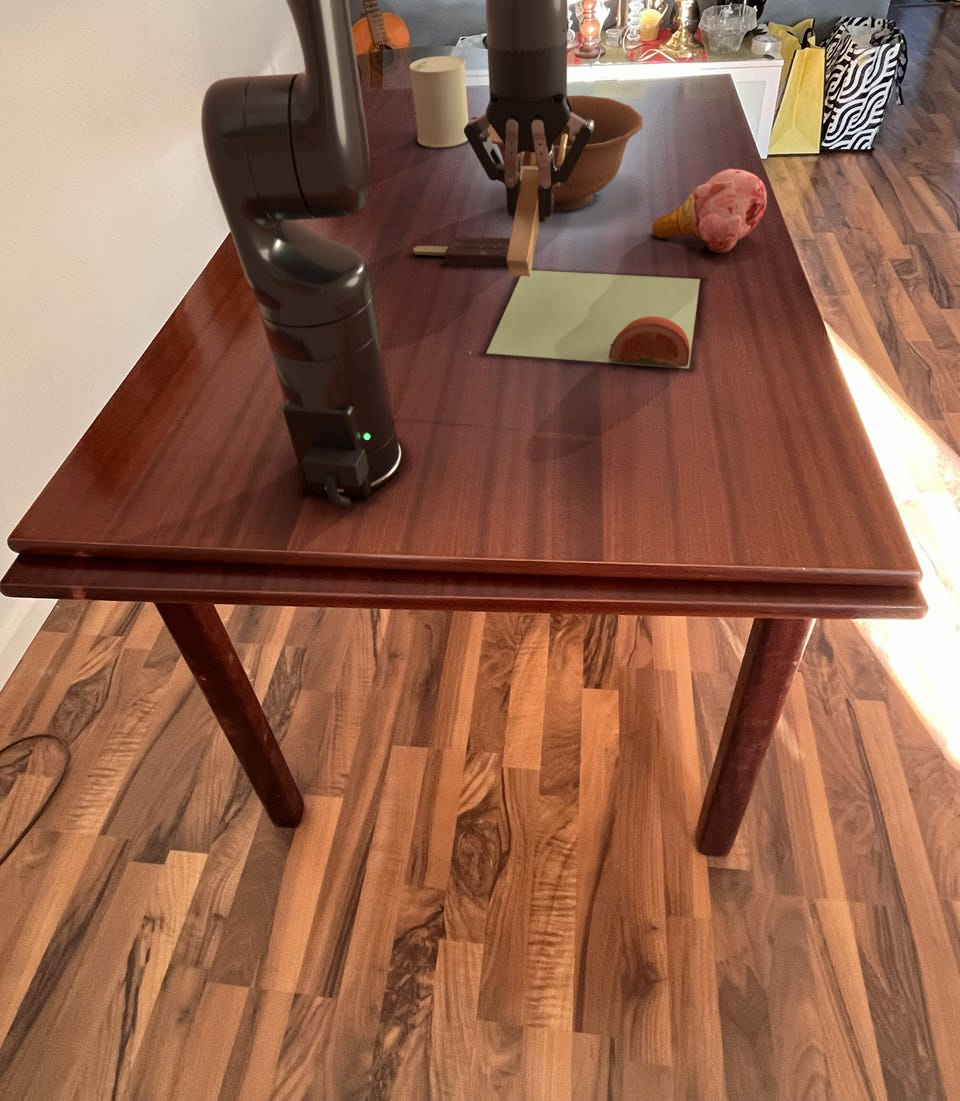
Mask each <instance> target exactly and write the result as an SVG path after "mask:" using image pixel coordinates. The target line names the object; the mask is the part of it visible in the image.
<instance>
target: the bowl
mask: <svg viewBox="0 0 960 1101" xmlns="http://www.w3.org/2000/svg"><path fill="white" fill-rule="evenodd" d="M567 97H568V100H569V102H570V104H571V107H572V113H574V114H576V115H577V116H579V117H581V118H582V119H584V120H586V119H592V120H593V121H594V123H595V127H594V129H593V132H592V134H591V136H590V138H589V140H588V142H587V144H586V146H585V148H584V150H583V152H582V153H581V155H580V157H579V159H578V161H577V163H576V165H575V167H574V169H573V170H572V172H571V174H570V176H569V178H568V180H567V181H566V182H565V183H560V186H559V187H557V186H554V208H553V211H552V212H569V211H575V210H579V209H581V208H584V207H586V206H588V205H589V204H590V203H591V202H592V201H593V200H594V194H596V193H598V192H600V191H602V190H604V188H605V187H607V186H608V185H609V183H611V182H612V181H613V180H614V179H615V177H616V176H617V175H618V173H619V170H620V167H621V164H622V161H623V157H624V153H625V150H626V147H627V144H628V142H629V140H630V139H631V138H632V137H634V135H636V134H637V133H638V132H640V131H641V130H643V129H644V128H643V126H644V124H643V116H642V115H641V114H640V113H639V112H638V111H637V110H636V109H634V108H633V107H632V106H631V105H628V104H626V103H623V102H621V101H618V100H615V99H612V98H610V97H601V96H592V95H581V94H580V95H567ZM489 126H490V130H491V133H490V135H489V138H490V139H491V141H492V143H493V145H496V146H497V148H498V150H499V152H500V155H501V156H500V157H501V160H502V162H503V164H505V148H506V146H505V144H504V143H503V142H502V140H501V139H500V137H499V136H498V134H497V133H496V132H495V130H494V129H493V127H492V126H491V124H490V125H489ZM569 132H570V129H569V126H568V125H567V124H566V126H565V127H564V128H563V130H562V131H561V133H560V134H559V136H558V137H557V139H556V140H555V142H554V143H553V145H554V166H555V167H556V165H557V159H558V153H559V148H560V142H561V136H562V134H564V133H565V134H567V135H568V139H567V145H566V150H565V156H564V159H565V157H566V155H567V153H568V151H569V149H570V147H571V145H572V143H573V142H572V141H570V139H569ZM531 153H532V152H530V151H525V153H524V159H523V164H522V166H529V164H530V159H531ZM536 166H537V165H536Z"/></svg>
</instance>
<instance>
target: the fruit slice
mask: <svg viewBox="0 0 960 1101" xmlns="http://www.w3.org/2000/svg"><path fill="white" fill-rule="evenodd" d="M610 346H611V349H610V352H609V358H608V359H616V360H627V361H637V360H640V359H644V358H646V359H648V361H651V362H653V363H656V364H657V363H660V364H669V365H673V366H687V365H688V362H689V356H690V357H691V355H690V347H689V341H688V338H687V336H686V334H685V332H684V331H683V330H682V329H681V328H680V327H679V326H678V325H677V324H675V323H674V322H672V321H670V320H668V319H665V318H661V317H643V318H640V319H637V320H635V321H633V322H631V323H629V324H628V325H627V326H626V327H625V328H624V329H623V330H622V331H621V332H620V333H619V334H618V335H617V336H616V338H615V340H614V341H613V344H610ZM642 357H643V358H642Z"/></svg>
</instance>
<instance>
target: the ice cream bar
mask: <svg viewBox="0 0 960 1101" xmlns="http://www.w3.org/2000/svg"><path fill="white" fill-rule="evenodd" d="M510 238H511V237H478V236H477V237H476V236H474V237H472V236H454V237H453V238H452V239H451V241H450V244H449V246H443V245H441V246H440V245H417V246H415V247H413V254H414V255H416V256H417V255H418V256H443V259H444V264H445V266H458V267H459V266H460V267H462V266H464V267H494V268H495V267H496V268H508V265H507V261H506V260H507V255H508V249H509V244H510Z"/></svg>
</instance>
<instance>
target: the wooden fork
mask: <svg viewBox="0 0 960 1101" xmlns="http://www.w3.org/2000/svg"><path fill="white" fill-rule="evenodd" d="M567 139H568V135H567V134H565V133H564V134H562V136H561V142H560V148H559V153H558V159H557V165H556V166H559V165H561V164H562V163H563V161H564V156H565V150H566V145H567ZM524 153H525V151H524V152H523V155H522V162H521V175H520V180H521V185H520V191H519V196H518V200H517V206H516V211H515V217H514V221H512V222H513V223H512V228H511V233H510V237H509V238H510V244H509V249H508V255H507V260H506V261H507V265H508V267H507V268H508V272H509V275H510V276H512V277H514V276H515V277H520V276H530V275H531V270H532V269H533V263H534V257H535V252H536V247H537V246H536V245H537V240H538V235H539V234H538V233H539V229H540V223H539V204H538V187H539V185H540V182H539V173H538V166H536V157H535V153H533V152H532V153H531V159H530V164H529V166H522V164H523V159H524ZM554 186H557V187H559V186H560V182H559V183H556V184H554Z"/></svg>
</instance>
